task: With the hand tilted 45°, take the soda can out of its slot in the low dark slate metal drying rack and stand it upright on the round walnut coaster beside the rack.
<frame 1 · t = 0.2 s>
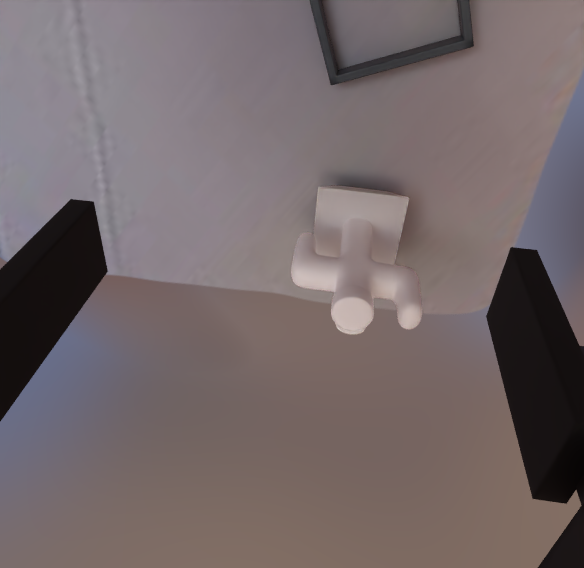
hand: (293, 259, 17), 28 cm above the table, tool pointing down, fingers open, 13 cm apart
figurine: (358, 209, 47), on the table
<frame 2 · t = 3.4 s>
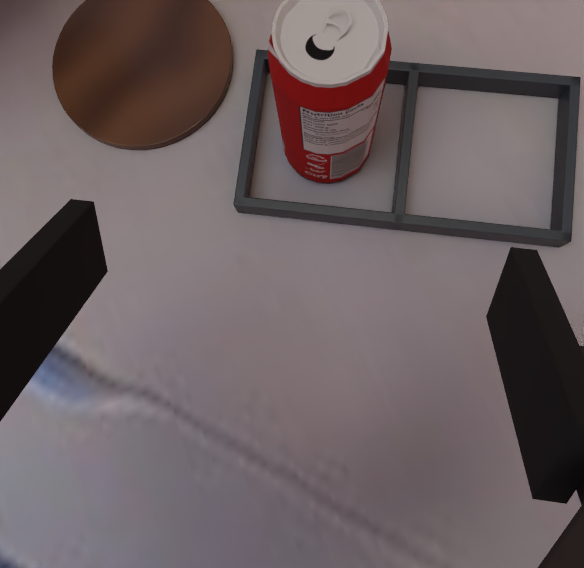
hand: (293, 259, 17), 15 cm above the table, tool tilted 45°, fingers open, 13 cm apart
rack: (402, 151, 33), on the table
soda can: (327, 145, 34), resting in rack
coaster: (144, 64, 35), on the table
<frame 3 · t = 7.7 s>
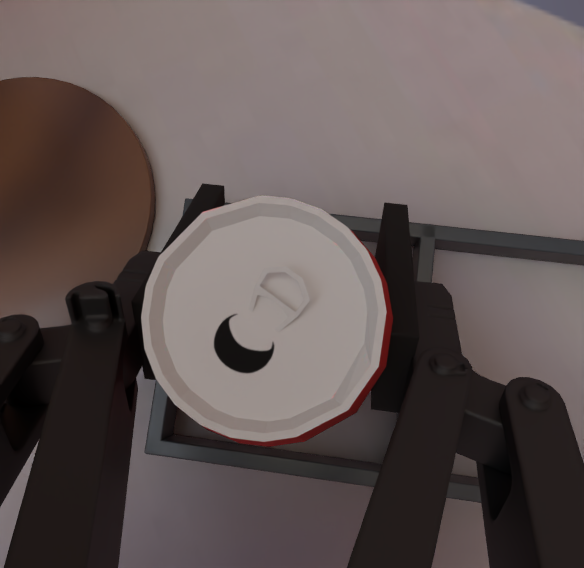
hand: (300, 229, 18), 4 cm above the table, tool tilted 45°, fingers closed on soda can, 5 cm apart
rack: (410, 353, 22), on the table
soda can: (294, 339, 22), resting in rack, touching gripper
coaster: (24, 208, 24), on the table
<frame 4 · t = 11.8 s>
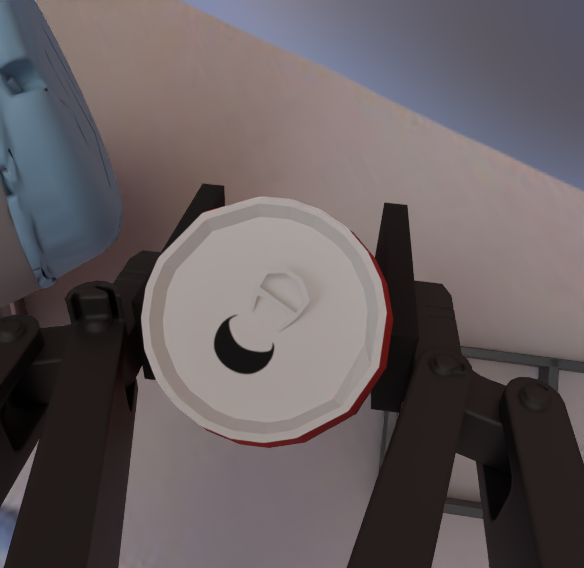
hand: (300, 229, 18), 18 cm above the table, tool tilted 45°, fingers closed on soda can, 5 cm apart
rack: (539, 437, 34), on the table
soda can: (294, 339, 22), point 14 cm above the table, touching gripper
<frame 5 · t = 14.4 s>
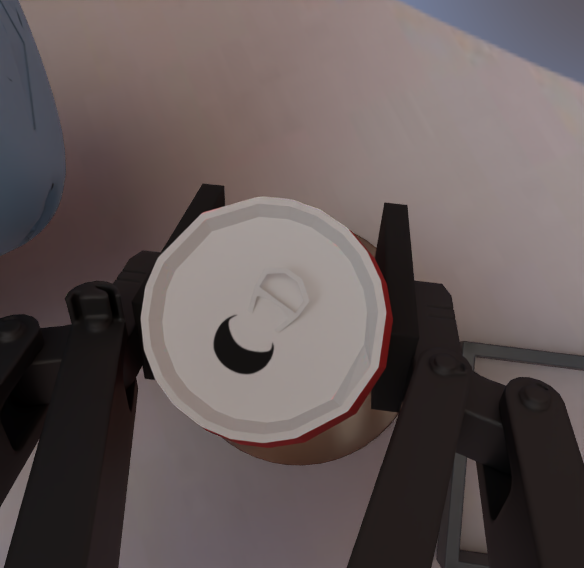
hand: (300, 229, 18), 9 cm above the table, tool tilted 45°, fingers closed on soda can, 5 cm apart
soda can: (294, 339, 22), point 4 cm above the table, touching gripper
coaster: (297, 339, 26), on the table
when the fingers open (5 cm above the table, at t = 15.9 s): soda can stays where it is, resting on coaster.
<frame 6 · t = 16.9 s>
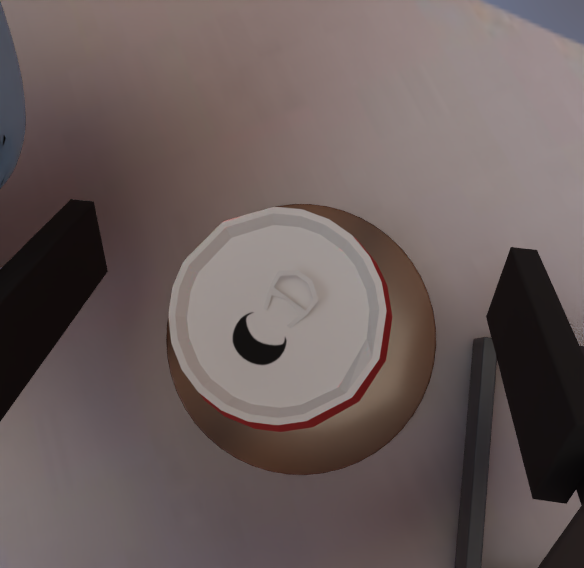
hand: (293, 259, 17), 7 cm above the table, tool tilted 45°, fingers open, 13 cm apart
soda can: (300, 338, 23), resting on coaster
coaster: (299, 334, 24), on the table
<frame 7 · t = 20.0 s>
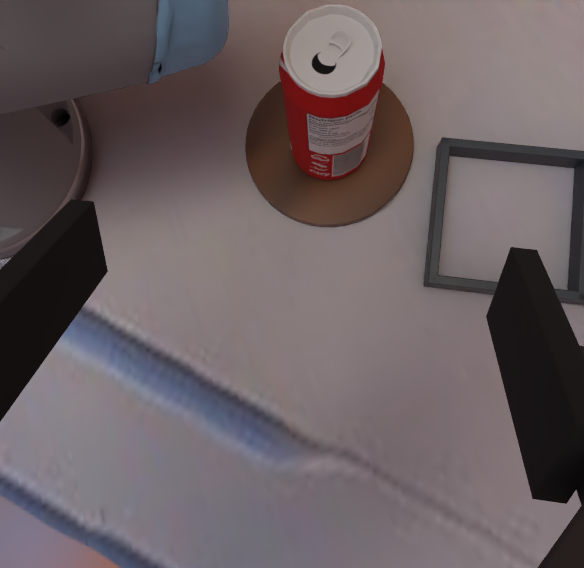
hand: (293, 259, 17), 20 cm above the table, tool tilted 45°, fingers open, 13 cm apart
rack: (575, 230, 36), on the table
soda can: (329, 146, 38), resting on coaster
coaster: (328, 146, 38), on the table
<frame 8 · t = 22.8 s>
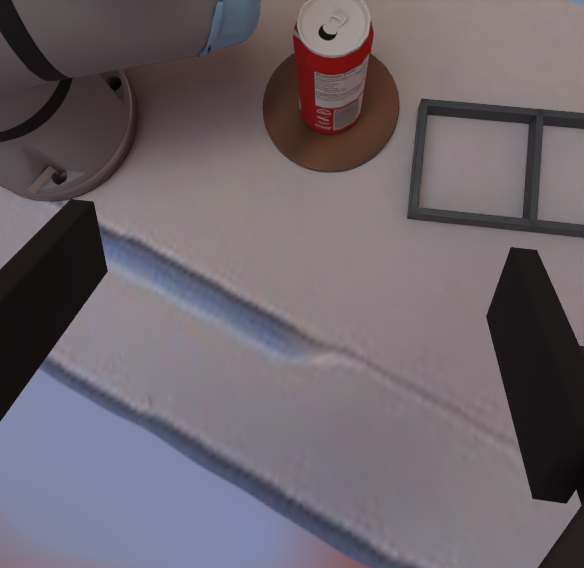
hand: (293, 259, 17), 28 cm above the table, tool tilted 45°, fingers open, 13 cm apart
rack: (529, 173, 45), on the table
soda can: (331, 107, 46), resting on coaster
coaster: (330, 108, 47), on the table
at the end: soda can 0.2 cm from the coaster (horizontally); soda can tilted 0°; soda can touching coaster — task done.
